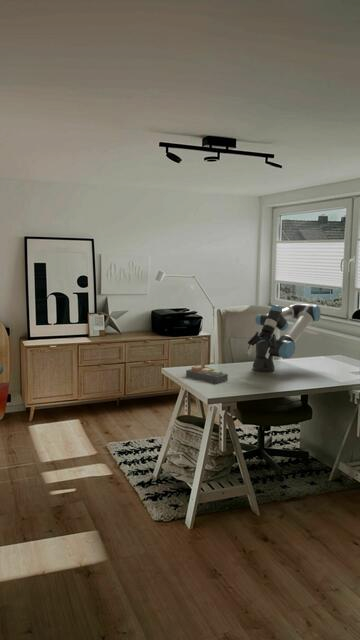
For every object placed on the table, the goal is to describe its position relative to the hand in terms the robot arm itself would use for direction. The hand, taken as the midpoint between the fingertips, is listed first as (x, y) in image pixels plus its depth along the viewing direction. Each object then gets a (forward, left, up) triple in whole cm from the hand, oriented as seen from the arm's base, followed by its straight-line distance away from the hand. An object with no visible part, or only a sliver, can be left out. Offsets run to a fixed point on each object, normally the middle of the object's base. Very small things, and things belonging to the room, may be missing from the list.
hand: (257, 356), depth 332 cm
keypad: (+20, -24, -15) cm, 35 cm away
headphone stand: (+4, -38, -16) cm, 42 cm away
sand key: (+20, -24, -12) cm, 34 cm away
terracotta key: (+20, -32, -12) cm, 40 cm away
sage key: (+20, -16, -12) cm, 29 cm away
